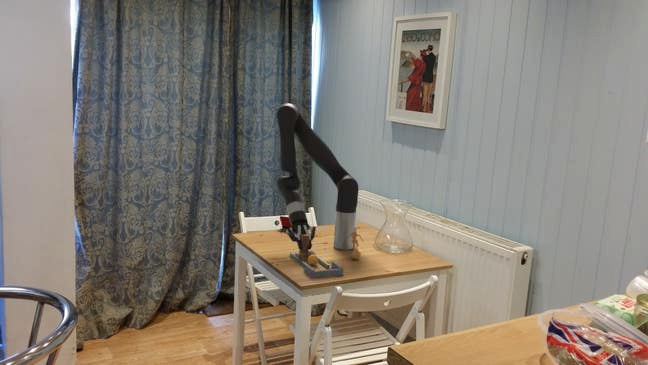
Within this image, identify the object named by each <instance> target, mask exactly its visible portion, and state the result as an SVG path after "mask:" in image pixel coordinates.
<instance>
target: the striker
mask: <svg viewBox="0 0 648 365" xmlns="http://www.w3.org/2000/svg"><path fill="white" fill-rule="evenodd" d="M309 235H310V234H309ZM309 235H308V234H300V237H301V241H302V245H303V249H302V250H300V249H299V248H298V249H299V250H298V252H295V253H294V254H295V255H296V256H298V257H299V258H300V259H301V260H303V261H304V262H308V257H309V256H310V255H313V254H314V255H316V252H314V251H312V250H309Z"/></svg>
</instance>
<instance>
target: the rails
mask: <svg viewBox="0 0 648 365" xmlns="http://www.w3.org/2000/svg"><path fill="white" fill-rule="evenodd" d="M315 255H316V256H317V257H318V259H319V260H318V263H319V264H320V265H322V266H323V267H324V268H326V270H330V264H329V263H328V262H326V261H325V260H324V259H323V258H321V257H320V256H318V255H317V254H315ZM289 257H291V258H292V259H293V260H295V262H297V263H298V265H300V266H302V268H304V264H307V263H306V261H303V260H301V259H300V258H299V257H298V256H296V255H295V253H294V252H292V251H291V252H289Z"/></svg>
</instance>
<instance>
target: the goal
mask: <svg viewBox="0 0 648 365" xmlns="http://www.w3.org/2000/svg"><path fill="white" fill-rule="evenodd" d="M303 272H304V273H306V274H307V275H308V276H309V277H310V278H311V279H318V278H328V277H341V276H343V275H344V269H343V266H341V265H340V264H339V263H337V262H336V261H333V260H332V261H331V269H330V268H329V269H321V270H315V269H314V268H313V267H312V266H311V265H310V264H309V263H306V264H304V267H303Z"/></svg>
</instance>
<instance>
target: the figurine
mask: <svg viewBox="0 0 648 365" xmlns="http://www.w3.org/2000/svg"><path fill="white" fill-rule="evenodd" d="M350 236H352V238H353V240H352V243H353V245H354V246H353V249H352V250H353V251H352V252H351V258H352V260H355V261H357V260H359V259H360V258H361V257H362V254H361V252H360V251H359V249H358V247H359V245H360V244H359V240H358V239H357V237H359V238H360V239H361V241H362V242H364V240H363V238H362V236H361V235H360V234H358V233H357V231H356V232H352V233H351V235H349V236H348V239H349V237H350ZM348 239H347V244H348V243H349V242H348ZM355 242H356V244H355ZM354 247H355V248H354Z"/></svg>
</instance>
